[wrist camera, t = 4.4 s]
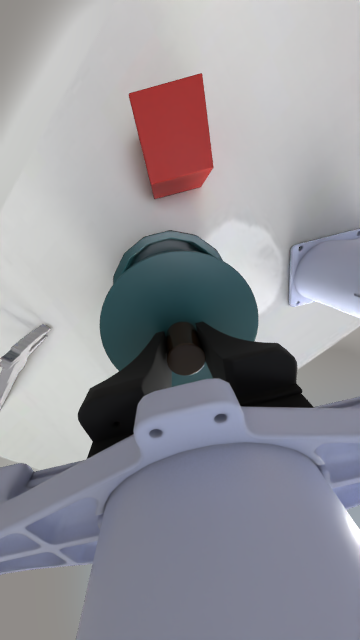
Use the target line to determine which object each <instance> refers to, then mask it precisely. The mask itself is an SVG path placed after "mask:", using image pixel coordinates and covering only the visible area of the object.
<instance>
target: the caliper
mask: <svg viewBox="0 0 360 640" xmlns="http://www.w3.org/2000/svg"><path fill="white" fill-rule="evenodd" d="M50 330H51V328H49V327H47V326H45V325H43V324H42V325H41V326H39V327H38V328H36V329H35V330H33V331H32V332H30V333H29V334H27V335H26V336H25V337H24V338H22V339H21V340H20V341H19V342H17V343H16V344H15V345H14V346H12V347H11V350H10V351H9V352H8V353H6V354H5V355H4V356H3V357H1V358H0V359H2V361H1V362H0V367H3V368H2V371H1V373H0V409H1V407H2V405H3V403H4V401H5V399H6V397H7V395H8V393H9V391H10V389H11V387H12V385H13V383H14V381H15V379H16V377H17V375H18V373H19V372H20V371H21V370H22V369H23V368H24V366H25V364H26V362H27V358H28V356H29V355H30V354H31V353H32V352H33V351H34V350H35V349H36V348H37V347H38V346H39V344H40V343H41V342H42V341H43V340H44V339H45V338H46V337H47V335H45V334H46V333H47V332H49V331H50Z"/></svg>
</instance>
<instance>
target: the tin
mask: <svg viewBox="0 0 360 640" xmlns="http://www.w3.org/2000/svg"><path fill="white" fill-rule="evenodd" d="M183 250H185V251H195V252H200V253H204V254H208V255H211V256H213V257H215V258H218V259H220V260H222V258H221V257H220V255H219V253H218V251H217V250H216V249H215V248H213V247H212V246H211V245H209V244H208V243H206V242H205V241H204V240H202V239H201V238H199V237H198V236H196V235H193V234H188V233H182V232H177V231H172V230H169V231H165V232H161V233H157V234H153V235H149V236H146V237H143V238H142V239H141V240H140V241H139V242H137V243H136V244H135V245H134V246H133V247H131V248H130V249H129V250H128V251H127V252H125V253H124V255H123V257H122V259H121V261H120V263H119V265H118V268H117V270H116V272H115V274H114V277H113V284H114V283H115V282H116V281H117V279H118V278H119V277H120V276H121V275H122V274H123V273H124V272H126V271H127V270H128V269H129V268H131V267H132V266H134V265H135V264H136V263H138V262H140V261H142V260H144V259H146V258H148V257H150V256H153V255H156V254H159V253H164V252H169V251H183ZM222 261H223V260H222Z"/></svg>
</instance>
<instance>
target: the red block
mask: <svg viewBox="0 0 360 640" xmlns="http://www.w3.org/2000/svg"><path fill="white" fill-rule="evenodd" d="M129 98H130V102H131V106H132V111H133V115H134V119H135V123H136V127H137V131H138V135H139V140H140V144H141V148H142V152H143V156H144V160H145V164H146V168H147V172H148V176H149V180H150V184H151V188H152V192H153V196H154V199H157V198H161V197H165V196H169V195H172V194H176V193H180V192H184V191H187V190H191V189H195V188H199V187H201V186H202V184H203V183H204V181H205V180H206V178H207V177H208V175H209V174H210V172H211V170H212V169H213V160H212V152H211V143H210V135H209V127H208V119H207V110H206V102H205V94H204V85H203V77H202V73H201V74H197V75H194V76H190V77H186V78H183V79H179V80H176V81H172V82H168V83H165V84H161V85H158V86H154V87H150V88H147V89H143V90H140V91H136V92H133V93H129Z"/></svg>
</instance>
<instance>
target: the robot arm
mask: <svg viewBox="0 0 360 640" xmlns="http://www.w3.org/2000/svg"><path fill="white" fill-rule="evenodd" d="M357 232H358V234H357ZM299 247H301V248H300V250H299ZM297 301H298V302H297ZM315 301H316V302H319V303H321V304H324V305H327V306H329V307H332V308H335V309H337V310H340V311H342V312H345V313H348V314H350V315H353V316H355V317H358V318H360V228H359V229H355V230H351V231H347V232H343V233H339V234H335V235H332V236H328V237H324V238H320V239H316V240H312V241H308V242H304V243H300V244H296V245H293V246H292V248H291V252H290V284H289V305H290V306H291V307H295V306H299V305H303V304H307V303H311V302H315ZM296 302H297V303H296ZM195 325H196V330H197V333H198V336H199V339H200V341H201V344H202V347H203V350H204V352H205V356H206V360H205V362H206V364H207V366H208V368H209V370H210V373H211V375H212V377H213V379H204V380H200V381H195V382H191V383H187V384H183V385H179V386H174V387H172V371H171V370H170V368H169V367H168V365H167V349H166V337H165V333H164V331H162V332H158V333H155V335H154V336H153V337H152V339H151V340H150V342H149V343H148V344H147V346H146V347H145V348H144V349H143V350H142V352H141V353H140V354H139V355H138V356H137V357H136V358H135V359H134V360H133V361H132V362H131V363H129V364H128V365H127V366H126V367H124V368H123V369H122V370H121V371H119V372H118V373H116V374H115V375H113V376H112V377H110V378H108V379H107V380H105V381H103V382H101V383H99V384H98V385H96V386H94V387H92V388H90V390H89V392H88V394H87V396H86V398H85V400H84V401H83V403H82V405H81V407H80V409H79V412H78V420H79V422H80V424H81V426H82V427H83V428H84V430H85V431H86V433H87V434H88V435H89V437H90V438H91V439H92V441H93V443H92V446H91V449H90V451H89V454H88V457H87V459H86V460H83V461H79V462H74V463H70V464H66V465H61V466H57V467H53V468H49V469H44V470H40V471H36V472H34V471H33V470H32V468H31V467H30V466H29V465H27V464H24V463H18V464H14V465H9V466H5V467H0V575H1V574H6V573H12V572H19V571H26V570H34V569H42V568H52V567H63V566H75V565H86V564H92V569H91V574H90V578H89V583H88V587H87V592H86V596H85V600H84V605H83V609H82V614H81V618H80V623H79V628H78V631H77V636H76V640H360V529H359V528H358V527H357V525H356V524H355V522H354V521H353V520H352V518H351V516H350V515H349V513H348V512H347V509H350V508H353V507H356V506H359V505H360V397H355V398H351V399H347V400H342V401H338V402H334V403H329V404H325V405H321V406H317V407H313V406H312V405H311V404H310V403H309V402H308V400H306V398H305V397H304V396H303V395H302V394H301V393H302V389H301V388H300V387H299V386H298V385H297V384H296V380H297V362H296V360H295V358H294V357H293V356H292V355H291V354H290V353H289V352H288V351H287V350H286V349H285V348H283V347H282V346H281V345H280V344H278V343H262V342H253V341H247V340H243V339H239V338H235V337H232V336H229V335H227V334H224V333H222V332H220V331H218V330H216V329H214V328H213V327H211V326H209V325H208V324H206V323H205V322H199V323H195Z"/></svg>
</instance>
